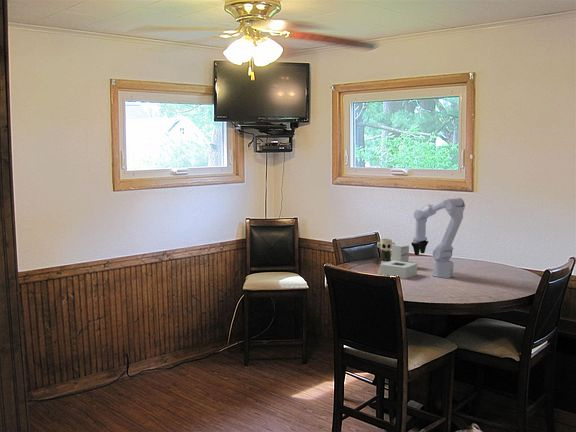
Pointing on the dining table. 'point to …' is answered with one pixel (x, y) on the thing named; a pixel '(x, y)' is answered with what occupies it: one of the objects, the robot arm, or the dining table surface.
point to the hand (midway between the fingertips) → (419, 254)
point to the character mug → (385, 248)
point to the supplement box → (400, 253)
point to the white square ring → (399, 269)
